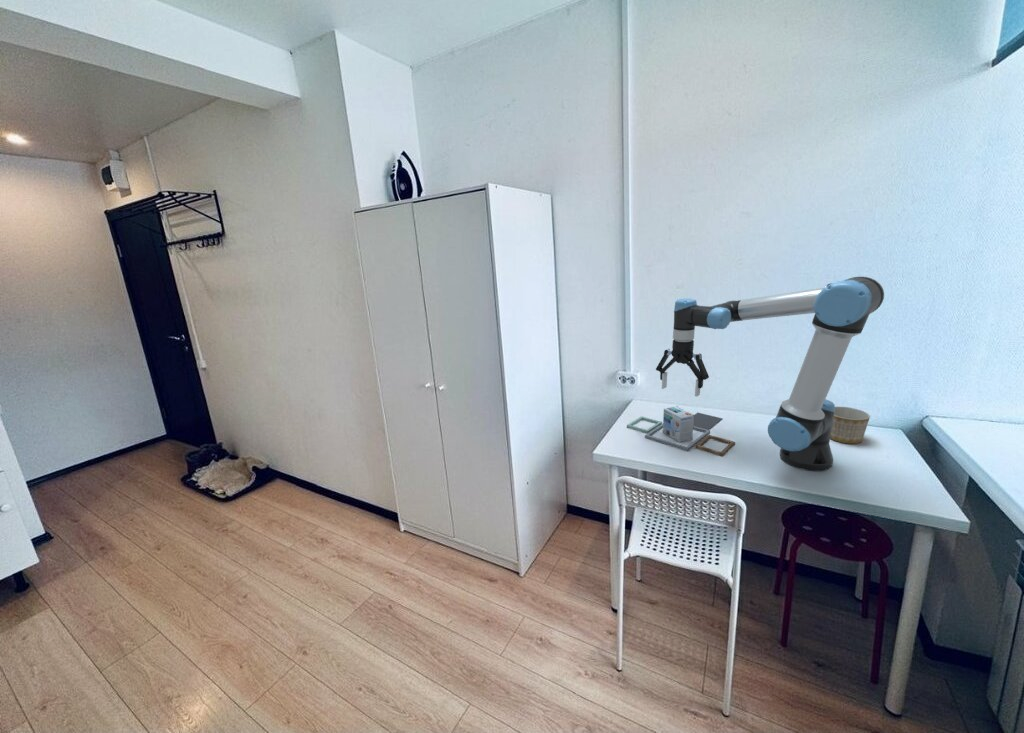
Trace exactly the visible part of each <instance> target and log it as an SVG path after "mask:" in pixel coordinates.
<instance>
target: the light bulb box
mask: <svg viewBox="0 0 1024 733" xmlns="http://www.w3.org/2000/svg"><path fill="white" fill-rule="evenodd" d="M694 415H695V413H694V414H693V413H691V412H689V411H687V410H685V409H684V408H681V407H679V406H678V405H677V406H676V405H675V406H671V407H667V408H663V421H662V424H663V428H662V433H664V434H666V435H667V436H668V437H670V438H672V439H674V441H676V442H678V443H682V442H686V441H690V440H694V439H693V436H694V430H693V424H694Z"/></svg>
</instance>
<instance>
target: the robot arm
mask: <svg viewBox="0 0 1024 733" xmlns="http://www.w3.org/2000/svg"><path fill="white" fill-rule="evenodd" d="M884 299H885V292H884V287H883V286H882V285H881V283H880V282H878V281H877V280H876V279H875V278H871V277H868V276H855V277H850V278H847V279H842V280H837V281H835V282H832V283H827V284H826V285H825V286H824V287H819V288H815V289H806V290H800V291H794V292H785V293H779V294H773V295H766V296H759V297H752V298H746V299H740V300H739V299H738V300H728V301H726V302H723V303H719V304H715V305H711V306H708V305H707V306H706V305H698V302H697V299H695V298H679V299H677V300H675V302H674V310H673V332H672V339H673V340H672V347H671V349H672V350H671V349H670V348H666V349H665V350H664V351H663V356H662V357H661V359H660V361H659V363H658V364H657V366H656V367H655V371H657V372H659V373H660V376H659V379H660V380H661V389H663V390H664V389H666V388H667V385H668V372H667V370H668V369H669V368H670V367H671V366H673V365H674V363H677V364H683V365H686V366H687V367H688V368H689V369H690V370H691V371H692V373H693V375H694V376H695V377H696V380H695V385H694V387H695V388H694V397H698V396H700V395H701V389H702V388H703V387H704V381H706V380H707V379H709V377H710V376H709V374H708V371H707V368H706V366H705V364H704V361H703V359H702V358H703V356H702V353H694V343H695V341H694V339H695V331H696V330H695V329H696V327H701V328H706V329H707V328H708V329H713V330H724V329H726V328H727V327H728V326H729V325H730V323H733V322H740V321H741V322H742V321H749V320H750V321H751V320H760V319H770V318H771V319H772V318H779V317H780V318H781V317H789V316H800V315H807V314H808V315H809V314H814V315H813V318H812V321H811V324H812V326H813V328H814V329H815V331H814V333H813V336H812V339H811V341H810V344H809V347H808V348H807V351H806V354H805V356H804V359H803V362H802V365H801V367H800V370H799V372H798V375H797V377H796V380H795V383H794V386H793V387H792V390H791V394H790V395H789V399H785V400H783V401H781V404H780V406H779V408H778V411H777V414H776V417H774V418H772V419H771V420H770V422H769V424H768V425H767V434H768V437H769V438H770V439H771V441H772V442H773V444H774V445H776V446H777V447H778V448H780V449H779V450H780V451H779V457H780V459H781V460H782V461H783V462H784V463H785V464H787V465H790V466H792V467H794V468H797V469H801V470H805V471H812V472H823V471H827V470H830V469H832V468H833V464H834V456H833V454H832V450H831V449H832V448H831V446H830V442H831V441H830V440H831V439H830V436H831V430H832V423H833V417H834V413H835V407H836V405H835V403H834V402H833V401H831V400H829V399H826V398H827V396H828V394H829V391H830V389H831V386H832V385H833V382H834V380H835V377H836V375H837V374H838V370H839V368H840V366H841V364H842V361H843V358H844V357H845V354H846V352H847V350H848V348H849V345H850V342H851V340H852V339H853V337H855V336H858V335H861V334H862V331H863V330H864V328H865V326H866V323H867V321H868V318H869V316H870V315H871V314H872V313H874V312H876V311H877V310H878V309H879V308H880V306H881V305H882V303H883V302H884ZM670 356H672V358H671V359H670V360H669V361H668V362H667V360H668V359H669V357H670ZM693 358H694V359H693ZM694 360H695V361H694ZM666 362H667V363H666ZM665 363H666V365H665Z"/></svg>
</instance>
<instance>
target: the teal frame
mask: <svg viewBox="0 0 1024 733" xmlns="http://www.w3.org/2000/svg"><path fill="white" fill-rule="evenodd" d="M641 421H645V422H648V423H652V424H653V425H652V426H651V427H649V428H647V429H645V428H642V427H639V426H635V425H637V424H638V423H640V422H641ZM661 424H663V421H660V420H658V419H657V420H656V419H653V418H650V417H645V416H642V415H640V416H639V417H638V418H636V419H634V420H633V421H631V422H629V423H628V424H626V428H627V429H631V430H634V431H636V432H640V433H644V434H647V433H649V432H651V431H652V430H654V429H655V428H657V427H658V426H660V425H661Z"/></svg>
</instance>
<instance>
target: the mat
mask: <svg viewBox="0 0 1024 733" xmlns="http://www.w3.org/2000/svg"><path fill="white" fill-rule="evenodd" d="M721 421H723V418H722V417H719V416H713V415H711V414H706V413H701V412H696V413H694V424H693V426H695V427H699V428H703V429H707V430H710V431H711V429H712V428H714V427H715V426H716V425H717V424H719V423H720V422H721Z"/></svg>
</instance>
